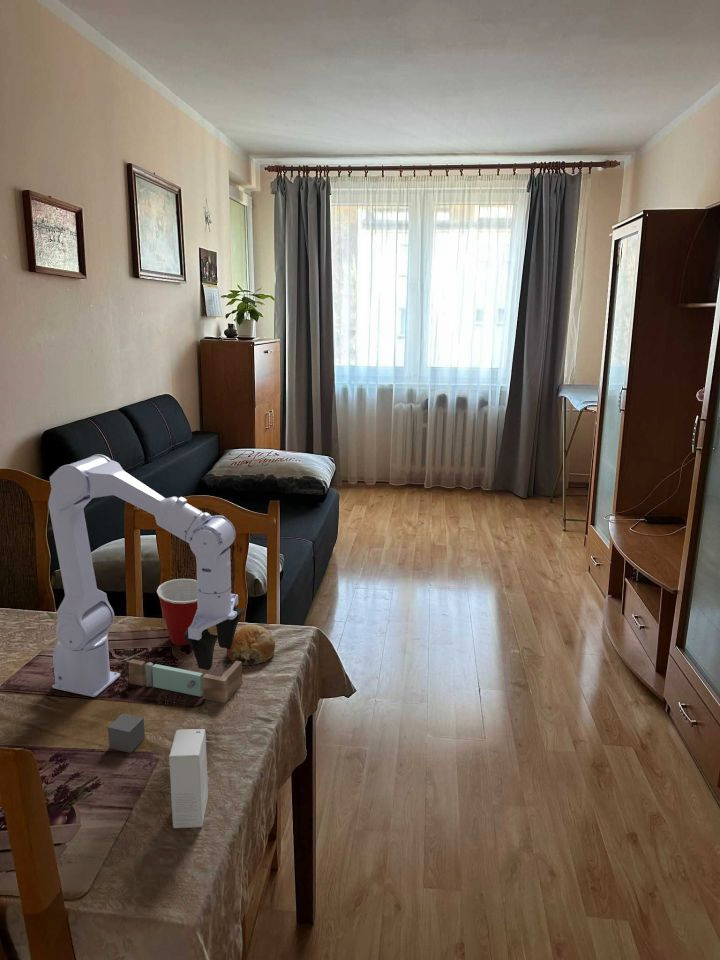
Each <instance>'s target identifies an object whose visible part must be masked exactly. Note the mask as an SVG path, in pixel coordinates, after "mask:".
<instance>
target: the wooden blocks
mask: <svg viewBox="0 0 720 960" xmlns="http://www.w3.org/2000/svg"><path fill="white" fill-rule="evenodd" d="M145 664H146V661H144V660H139V659H135V658H133V659H131V660H130V661H128V673H129V674H128V676H129V684H132V685H137V686H141V687H143V686H145V685H146V670H145ZM242 683H243V665H242V662H240V661H236V662H233V664H232V665H231V666H230V667H229V668H228V669H227V670H226V672H225V673H224V674H223V675H222V676H221V675H220V676H219V675H215V674H214V675H213V674H210V673H205V674H203V695H202V697H203V700H209V701H214V702H219V703H223V704H226V703H227V702H228V701H229V699H230V698H231V697H232V695H233V694H234V693H235V692H236V691H237V690H238V689H239V687H240V686H241V685H242Z"/></svg>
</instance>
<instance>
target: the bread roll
mask: <svg viewBox="0 0 720 960" xmlns="http://www.w3.org/2000/svg"><path fill="white" fill-rule="evenodd" d="M275 649H276V641H275V638H274V637H273V635H272V634H271V632H270V631H269V630H267V629H266V628H265V627H263V626H261V625H259V624H251V623H250V624H249V623H246V624H245V625H243V626H241V627H240V628H238V629H236V630H235V634H234V639H233V643H232V646H231V648H230V649H226V656H227V657H228V659H229V660H230V661H232V663H235V662H236V661H240V662H242V666H253V665H258V664H261V663H265V662H267V661H269V660H270V659H271V658H272V657H273V656H274V654H275ZM264 661H265V662H264Z"/></svg>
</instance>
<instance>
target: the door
mask: <svg viewBox="0 0 720 960" xmlns="http://www.w3.org/2000/svg"><path fill="white" fill-rule="evenodd" d="M145 670H146V684H145V685H146V687H153V688H156V689H157V688H158V689H162V690H166V691H170V692H171V691H172V692H177V693H179V694H181V693H182V694H186V695H190V696H196V697H200V698H201V697H203V676H204V674H203V673H204V672H203V673H202V672H198V671H194V670H193V671H192V670H188V669H183V668H178V667H173V666H167V665H162V664H157V663H155V664H154V663H153V662H150V661H149V662H145Z"/></svg>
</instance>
